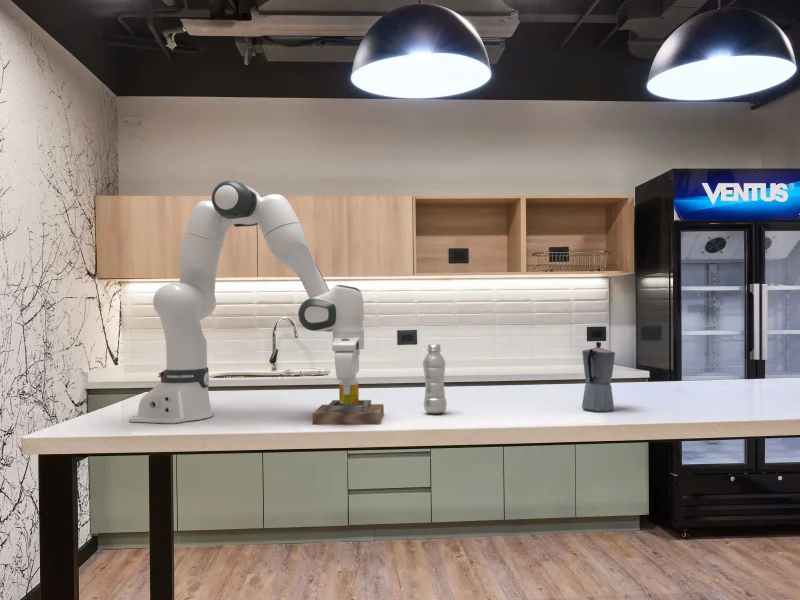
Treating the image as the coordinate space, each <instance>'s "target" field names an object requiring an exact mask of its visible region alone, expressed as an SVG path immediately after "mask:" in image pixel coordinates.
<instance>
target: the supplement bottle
mask: <svg viewBox="0 0 800 600" xmlns="http://www.w3.org/2000/svg"><path fill="white" fill-rule="evenodd" d="M356 377H357V373H356V372H355V374H354V376H353V377H352V378H351V381H350V387H351V393H350V394H349V395H345V394H344V393H343V384H342V380H339V383H338V385H339V386H338V387H339V389H338V391H339V393H338V395H339V399H338V400H339V405H340V406H359V400H360V399H359V395H360V394H359V389H360V388H359V387H360V386H359V380H358V379H356Z"/></svg>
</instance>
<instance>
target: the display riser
mask: <svg viewBox="0 0 800 600" xmlns="http://www.w3.org/2000/svg"><path fill="white" fill-rule="evenodd" d="M384 406H385V405H384V403H372V400H371V399H359V406H340V405H339V399H332V400H331V402H330V403H329V404H321V405H320V406H319V407H318V408H317V409H316V410H314V411H313V412H312V425H380V424H381V422H382V420H381V419H383V418H384V415H385V414H384V413H385V411H384ZM380 421H381V422H380Z"/></svg>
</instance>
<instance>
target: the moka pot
mask: <svg viewBox="0 0 800 600" xmlns="http://www.w3.org/2000/svg"><path fill="white" fill-rule="evenodd" d="M595 344H596V345H595V346H596V347H592V348H587V349H584V350H582V363H583V369H584V377H585V382H586V383H585V384H584V390H583V391H584V392H583V398H582V403H581V408H582V409H583V410H587V411H594V412H612V411H614V410H615V406H614V405H615V404H614V398H613V390H612V389H613V388H612V385H611V383H612V377H613V372H614V365H615V357H616V356H615V355H616V352H614V351H612V350H609V349H606V348H602V347H601V345H602V342H600V341H597V342H595Z"/></svg>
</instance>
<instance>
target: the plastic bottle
mask: <svg viewBox="0 0 800 600" xmlns="http://www.w3.org/2000/svg"><path fill="white" fill-rule="evenodd" d="M426 351H427V352H428V353H427V354H426V356H425V357H424V359H423V362H422V366H423V374H424V382H425V383H424V384H425V386H424V389H425V391H424V399H423V408H424V411H425V413H428V414H432V415H438V414H443V413H445V412H446V411H447V405H448V404H447V398H446V393H445V391H446V390H445V371H446V361H445V359H444V357H443V356H442V354H441V344H427V350H426Z"/></svg>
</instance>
